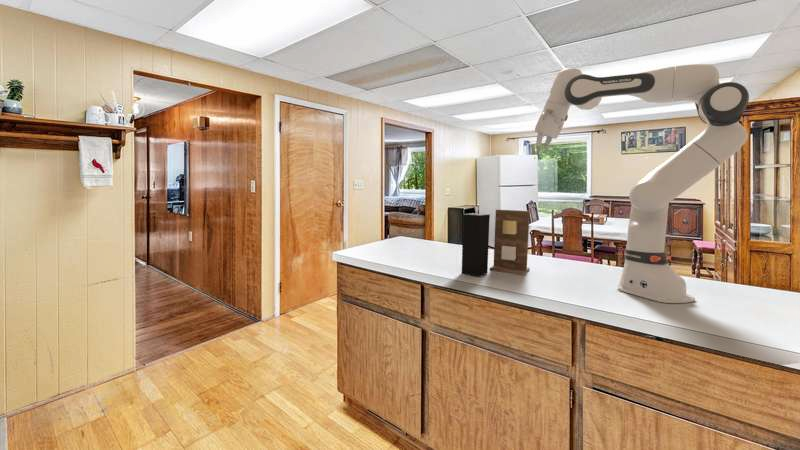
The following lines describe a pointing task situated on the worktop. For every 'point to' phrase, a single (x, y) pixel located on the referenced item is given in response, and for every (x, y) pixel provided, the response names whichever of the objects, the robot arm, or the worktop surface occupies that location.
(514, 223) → the upper button
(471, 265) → the tall black box
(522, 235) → the call panel
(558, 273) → the worktop surface
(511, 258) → the lower button
